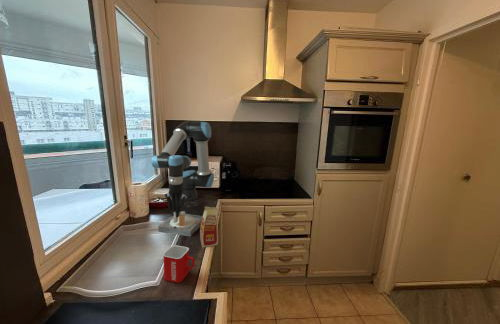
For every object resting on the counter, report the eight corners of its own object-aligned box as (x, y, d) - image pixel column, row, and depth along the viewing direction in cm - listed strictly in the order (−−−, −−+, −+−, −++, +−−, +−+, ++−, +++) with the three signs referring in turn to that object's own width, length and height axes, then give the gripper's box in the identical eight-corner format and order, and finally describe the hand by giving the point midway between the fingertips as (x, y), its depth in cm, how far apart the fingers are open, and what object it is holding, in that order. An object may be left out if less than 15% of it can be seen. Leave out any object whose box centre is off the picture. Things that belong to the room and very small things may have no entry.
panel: (176, 217, 143) (176, 212, 142) (205, 221, 139) (205, 215, 139) (158, 231, 124) (158, 225, 123) (190, 236, 120) (190, 230, 119)
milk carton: (202, 247, 110) (202, 210, 106) (199, 238, 118) (199, 204, 115) (220, 244, 113) (220, 208, 110) (215, 236, 122) (216, 202, 118)
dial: (172, 218, 137) (172, 207, 136) (196, 217, 140) (196, 206, 138) (167, 229, 123) (167, 217, 121) (194, 228, 125) (194, 216, 124)
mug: (161, 280, 86) (160, 255, 84) (173, 267, 94) (173, 244, 92) (189, 286, 83) (188, 261, 82) (198, 272, 91) (198, 249, 90)
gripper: (161, 183, 119) (162, 223, 123) (183, 185, 117) (182, 226, 121) (169, 180, 126) (169, 217, 130) (189, 182, 124) (188, 220, 128)
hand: (175, 222), depth 126 cm, fingers closed
